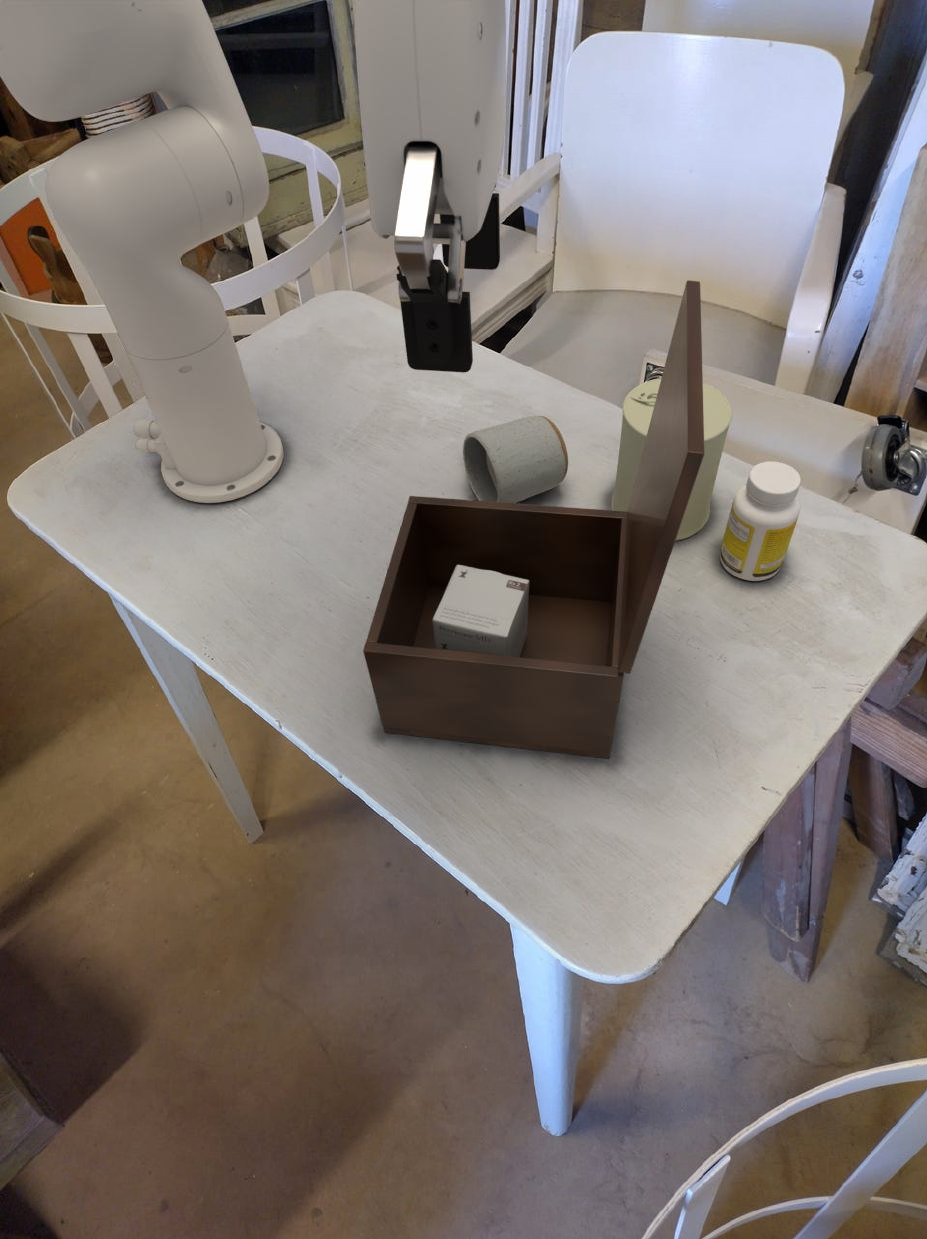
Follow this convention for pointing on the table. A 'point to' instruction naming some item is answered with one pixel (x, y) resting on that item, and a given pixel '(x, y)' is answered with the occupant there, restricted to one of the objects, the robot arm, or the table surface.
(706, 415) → the can
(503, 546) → the chest
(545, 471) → the ceramic mug
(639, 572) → the lid
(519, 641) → the white cardboard box
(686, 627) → the table surface
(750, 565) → the supplement bottle
